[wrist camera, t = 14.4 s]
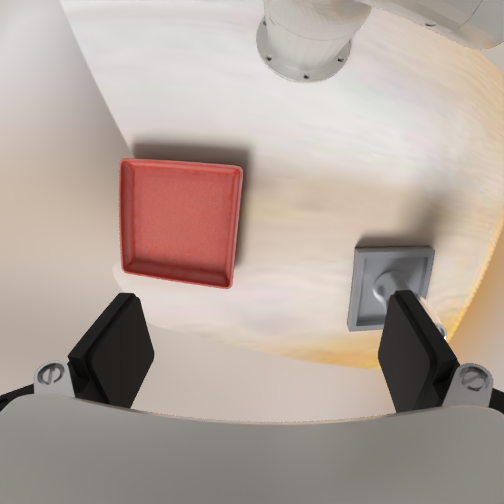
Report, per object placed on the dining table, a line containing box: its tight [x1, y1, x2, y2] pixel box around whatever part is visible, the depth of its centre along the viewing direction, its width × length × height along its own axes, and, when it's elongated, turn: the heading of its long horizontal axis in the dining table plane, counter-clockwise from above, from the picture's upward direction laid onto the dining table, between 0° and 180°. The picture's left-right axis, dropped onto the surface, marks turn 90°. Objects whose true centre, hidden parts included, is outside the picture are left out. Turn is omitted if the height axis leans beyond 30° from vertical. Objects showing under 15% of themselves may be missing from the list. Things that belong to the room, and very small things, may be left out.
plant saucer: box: [119, 158, 243, 289], centre depth 43 cm, size 18×18×3 cm
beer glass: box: [373, 270, 447, 340], centre depth 38 cm, size 7×7×15 cm
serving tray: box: [347, 246, 435, 332], centre depth 45 cm, size 14×13×2 cm
